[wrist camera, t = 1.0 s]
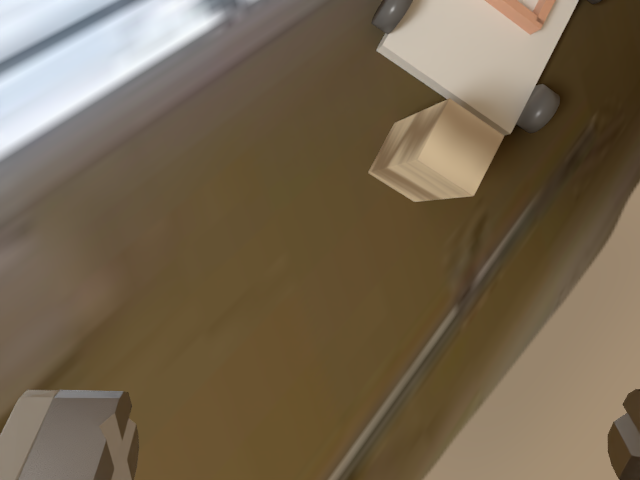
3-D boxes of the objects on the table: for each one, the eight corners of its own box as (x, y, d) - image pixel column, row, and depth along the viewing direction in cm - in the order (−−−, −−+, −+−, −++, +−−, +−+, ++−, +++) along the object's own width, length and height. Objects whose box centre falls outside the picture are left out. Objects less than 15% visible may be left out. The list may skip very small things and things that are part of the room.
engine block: (414, 201, 51) (473, 196, 41) (367, 172, 50) (417, 159, 40) (440, 153, 51) (504, 135, 42) (394, 123, 50) (449, 98, 40)
